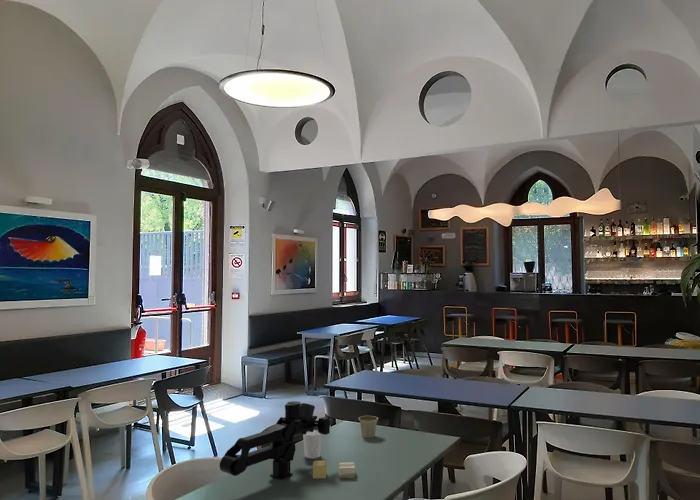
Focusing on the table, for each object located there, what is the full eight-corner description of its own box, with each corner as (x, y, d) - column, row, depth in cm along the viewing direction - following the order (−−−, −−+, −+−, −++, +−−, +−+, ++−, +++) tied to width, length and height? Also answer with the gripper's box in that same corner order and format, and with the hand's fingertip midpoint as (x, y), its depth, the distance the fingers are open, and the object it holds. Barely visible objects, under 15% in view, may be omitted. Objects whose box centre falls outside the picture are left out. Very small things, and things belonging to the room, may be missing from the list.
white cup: (299, 457, 237) (299, 434, 237) (309, 452, 244) (309, 429, 244) (315, 460, 233) (315, 436, 234) (325, 454, 240) (324, 431, 241)
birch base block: (354, 478, 213) (354, 467, 213) (339, 478, 213) (339, 468, 213) (354, 472, 219) (354, 462, 219) (339, 473, 219) (339, 462, 219)
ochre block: (325, 478, 213) (325, 465, 213) (312, 478, 213) (312, 465, 213) (326, 473, 218) (326, 460, 218) (313, 473, 218) (313, 460, 218)
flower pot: (381, 435, 267) (381, 417, 268) (372, 440, 259) (372, 421, 260) (365, 432, 272) (364, 414, 273) (355, 437, 264) (354, 419, 265)
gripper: (315, 410, 219) (341, 402, 231) (282, 403, 231) (308, 396, 243) (315, 438, 218) (341, 429, 230) (282, 430, 230) (309, 422, 242)
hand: (324, 418), depth 237 cm, fingers open, 9 cm apart
